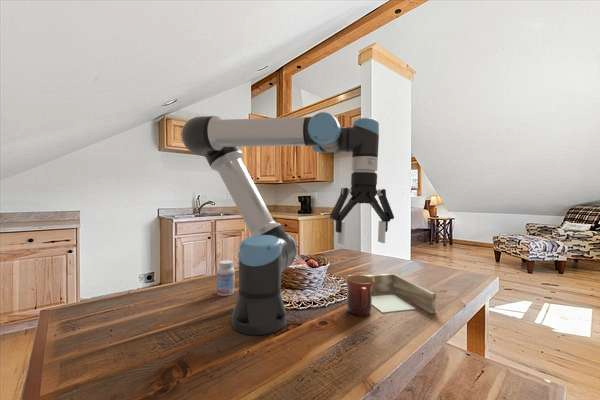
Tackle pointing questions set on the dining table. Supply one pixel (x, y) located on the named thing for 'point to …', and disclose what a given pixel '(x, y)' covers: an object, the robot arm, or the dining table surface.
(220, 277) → the pill bottle
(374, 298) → the pad
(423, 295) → the back wall
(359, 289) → the mug
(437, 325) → the dining table surface
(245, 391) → the dining table surface
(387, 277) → the side wall
